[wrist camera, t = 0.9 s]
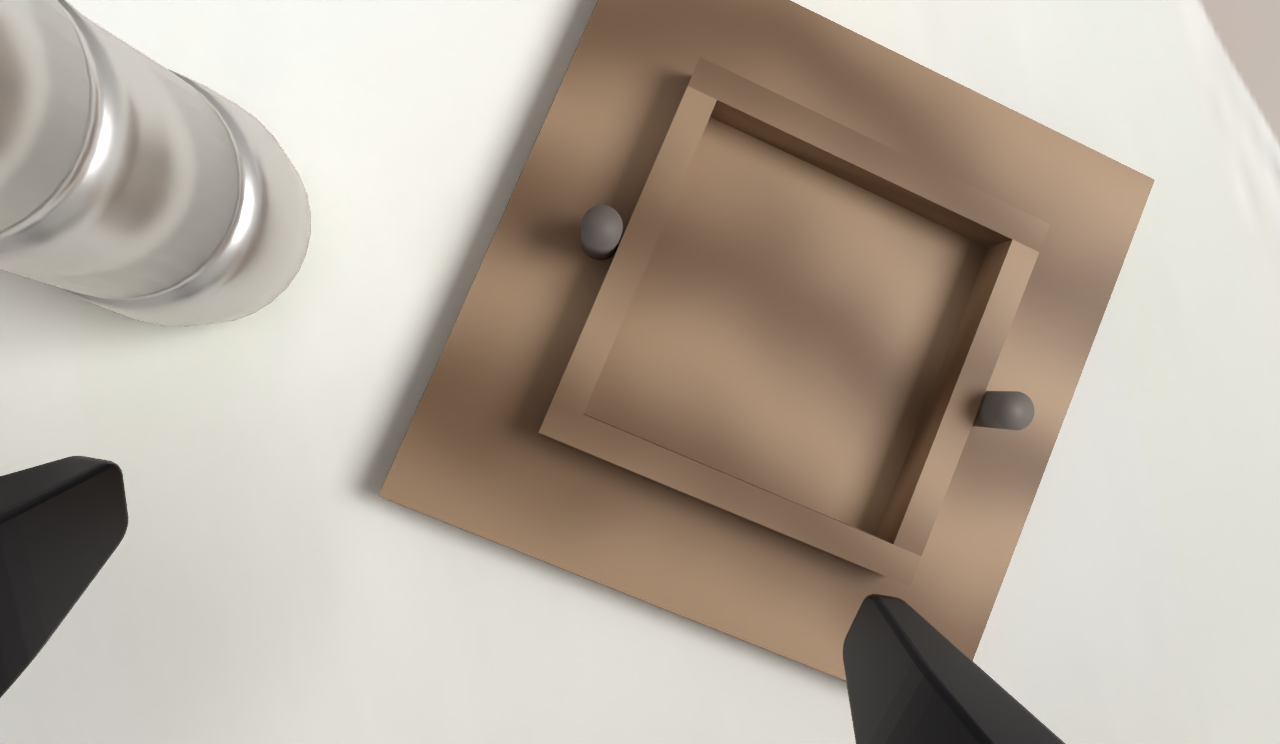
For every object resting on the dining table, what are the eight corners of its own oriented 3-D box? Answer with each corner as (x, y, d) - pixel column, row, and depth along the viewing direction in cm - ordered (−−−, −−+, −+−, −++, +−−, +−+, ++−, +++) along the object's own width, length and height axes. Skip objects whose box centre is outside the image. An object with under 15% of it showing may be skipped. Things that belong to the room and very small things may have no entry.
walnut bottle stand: (932, 706, 22) (987, 756, 19) (387, 490, 21) (356, 508, 18) (1129, 188, 23) (1210, 159, 20) (630, -57, 22) (638, -127, 19)
